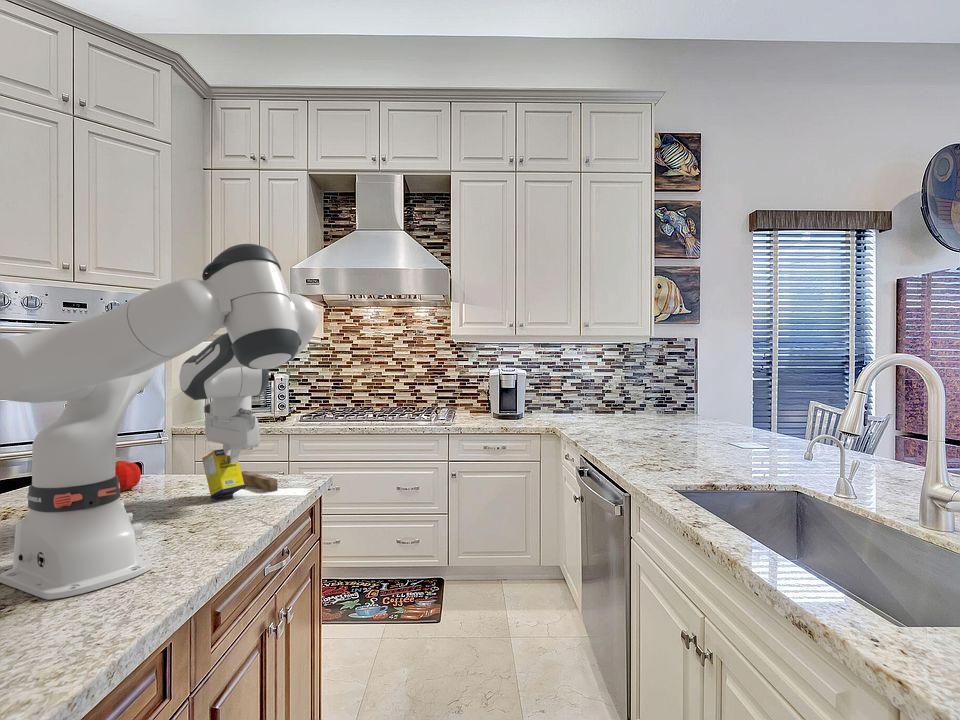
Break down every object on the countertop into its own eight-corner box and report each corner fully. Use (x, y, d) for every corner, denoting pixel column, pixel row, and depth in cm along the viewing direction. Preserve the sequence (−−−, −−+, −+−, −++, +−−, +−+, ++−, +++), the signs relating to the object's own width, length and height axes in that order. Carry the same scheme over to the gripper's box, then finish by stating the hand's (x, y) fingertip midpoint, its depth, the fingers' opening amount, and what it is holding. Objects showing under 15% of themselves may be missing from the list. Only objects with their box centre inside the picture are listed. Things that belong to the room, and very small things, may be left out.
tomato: (88, 490, 131) (88, 462, 131) (137, 483, 138) (137, 457, 138) (92, 498, 123) (92, 469, 123) (144, 491, 130) (144, 463, 130)
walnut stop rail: (277, 490, 132) (277, 479, 132) (270, 491, 130) (270, 480, 130) (245, 481, 141) (245, 471, 141) (238, 482, 139) (238, 472, 139)
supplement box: (245, 487, 125) (236, 446, 128) (222, 492, 120) (213, 450, 123) (233, 493, 128) (224, 453, 131) (210, 499, 123) (201, 457, 126)
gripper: (266, 409, 120) (266, 465, 120) (224, 404, 132) (224, 455, 132) (241, 411, 115) (241, 470, 115) (200, 406, 127) (199, 459, 127)
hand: (231, 462), depth 124 cm, fingers closed
